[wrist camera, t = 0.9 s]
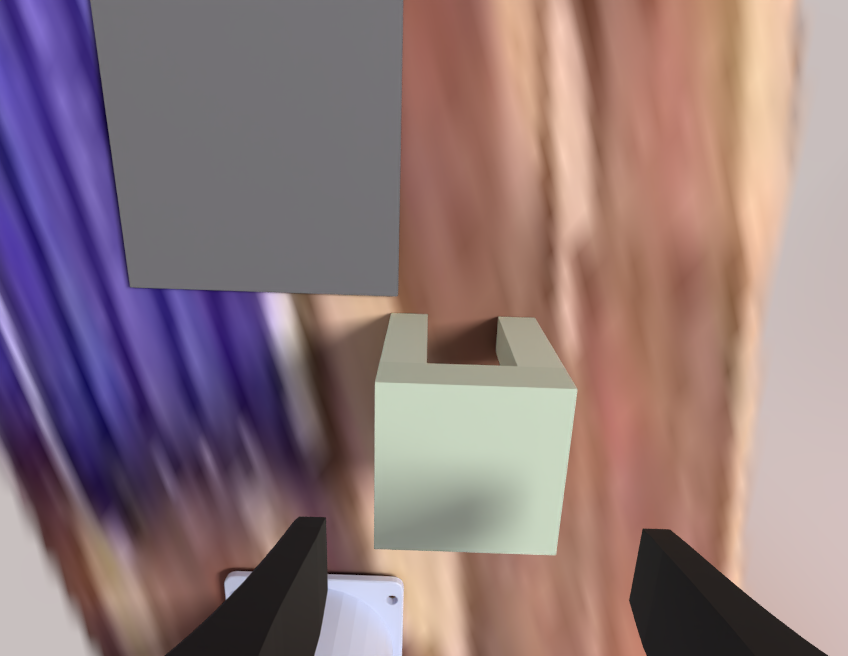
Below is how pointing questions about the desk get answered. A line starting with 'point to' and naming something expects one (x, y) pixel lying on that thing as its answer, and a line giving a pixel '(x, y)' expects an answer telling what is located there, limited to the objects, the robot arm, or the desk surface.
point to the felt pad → (256, 142)
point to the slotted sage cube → (471, 444)
